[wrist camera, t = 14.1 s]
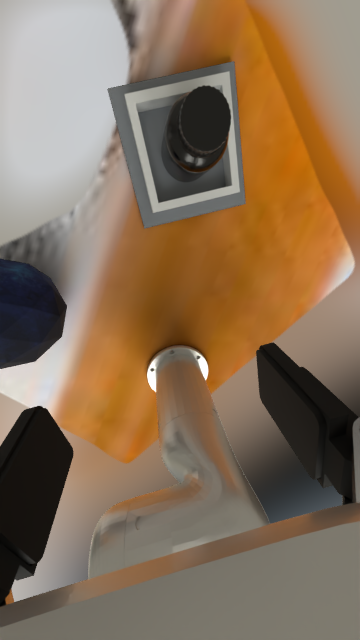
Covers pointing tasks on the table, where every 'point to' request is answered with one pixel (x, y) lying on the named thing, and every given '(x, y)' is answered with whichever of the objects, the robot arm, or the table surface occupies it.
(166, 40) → the table surface
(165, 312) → the table surface
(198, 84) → the rimmed tray
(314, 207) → the table surface
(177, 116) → the supplement bottle
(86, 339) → the table surface
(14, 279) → the decorative orb
